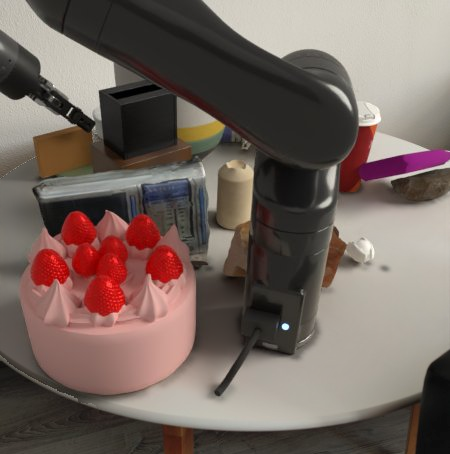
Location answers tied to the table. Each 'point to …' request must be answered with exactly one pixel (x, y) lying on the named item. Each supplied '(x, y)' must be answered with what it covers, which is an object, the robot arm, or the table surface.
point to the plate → (77, 171)
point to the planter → (185, 120)
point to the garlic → (360, 250)
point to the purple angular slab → (403, 164)
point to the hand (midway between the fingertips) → (79, 118)
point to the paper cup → (359, 147)
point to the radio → (135, 200)
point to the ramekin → (98, 122)
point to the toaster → (138, 118)
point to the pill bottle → (230, 136)
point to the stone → (239, 249)
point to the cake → (109, 303)
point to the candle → (234, 194)
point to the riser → (110, 160)
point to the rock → (423, 185)
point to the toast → (62, 150)
